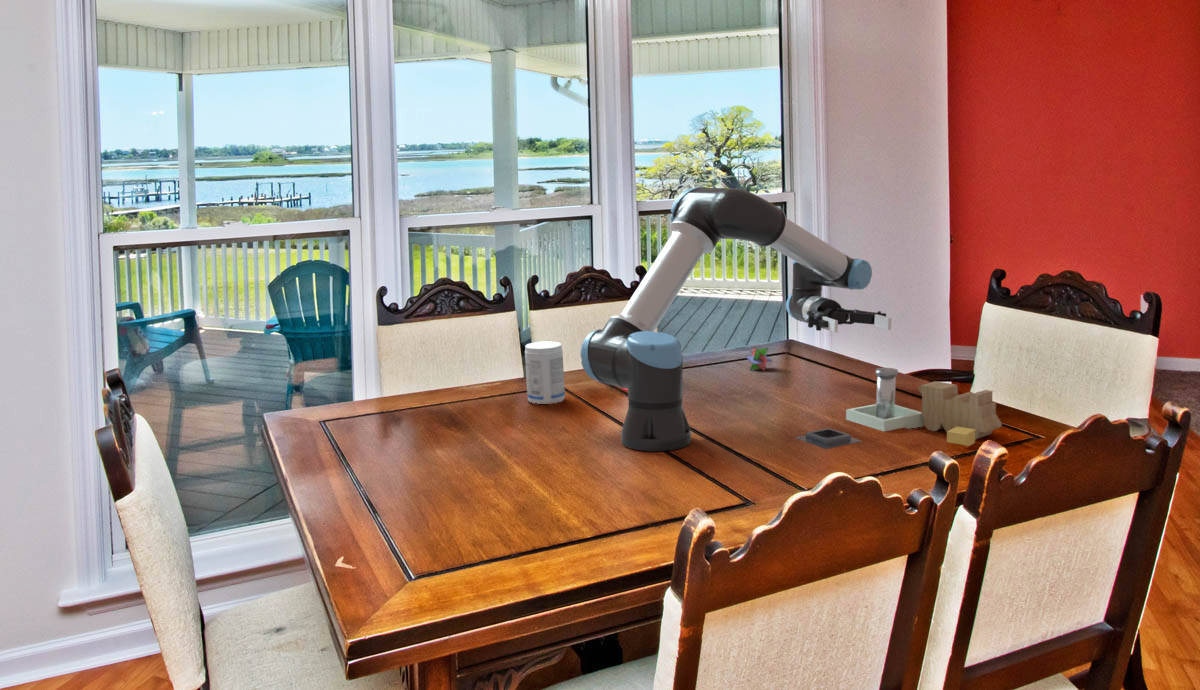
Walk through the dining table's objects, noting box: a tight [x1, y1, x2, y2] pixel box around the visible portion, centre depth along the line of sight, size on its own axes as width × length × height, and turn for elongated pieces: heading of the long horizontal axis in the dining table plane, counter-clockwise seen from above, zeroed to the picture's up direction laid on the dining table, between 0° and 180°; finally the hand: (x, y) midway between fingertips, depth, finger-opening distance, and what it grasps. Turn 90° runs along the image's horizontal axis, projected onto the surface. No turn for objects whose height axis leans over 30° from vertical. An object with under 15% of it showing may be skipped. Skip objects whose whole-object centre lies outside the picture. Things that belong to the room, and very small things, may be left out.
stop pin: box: [874, 367, 899, 419], centre depth 227 cm, size 5×5×12 cm
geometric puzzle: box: [744, 346, 774, 372], centre depth 287 cm, size 7×7×8 cm
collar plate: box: [794, 427, 863, 450], centre depth 215 cm, size 10×10×2 cm
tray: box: [845, 403, 925, 432], centre depth 228 cm, size 12×12×3 cm
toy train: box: [917, 380, 1003, 441], centre depth 220 cm, size 6×17×10 cm, turn 38°
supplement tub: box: [524, 340, 566, 405], centre depth 257 cm, size 10×10×15 cm
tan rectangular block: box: [946, 426, 976, 447], centre depth 212 cm, size 5×4×3 cm
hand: (863, 325), depth 235 cm, fingers open, 13 cm apart
